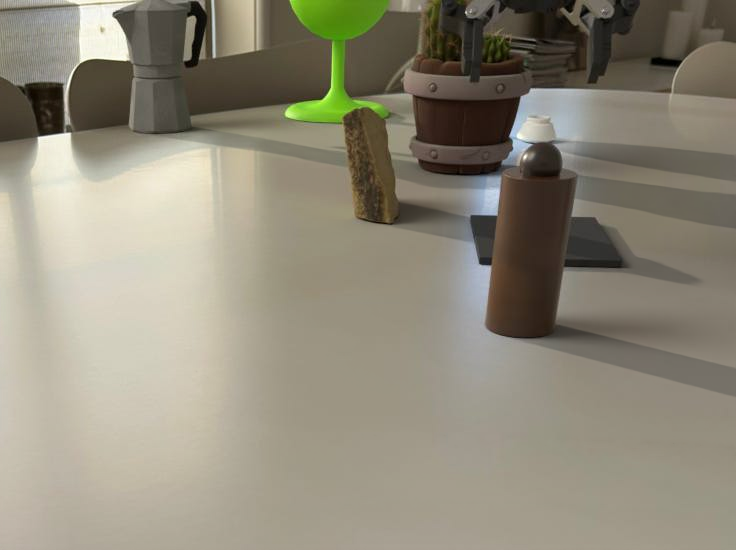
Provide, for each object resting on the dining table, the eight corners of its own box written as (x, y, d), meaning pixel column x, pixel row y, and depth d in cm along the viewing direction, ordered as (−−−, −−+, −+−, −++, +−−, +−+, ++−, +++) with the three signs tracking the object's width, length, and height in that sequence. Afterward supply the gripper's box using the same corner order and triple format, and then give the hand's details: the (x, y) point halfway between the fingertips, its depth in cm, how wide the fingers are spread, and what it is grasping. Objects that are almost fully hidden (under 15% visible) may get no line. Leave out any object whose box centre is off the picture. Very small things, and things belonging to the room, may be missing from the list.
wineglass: (358, 125, 154) (364, -20, 144) (265, 117, 161) (264, -22, 151) (406, 111, 165) (414, -25, 155) (316, 104, 172) (319, -26, 162)
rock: (355, 170, 115) (301, 171, 107) (405, 104, 109) (351, 100, 102) (415, 246, 113) (363, 252, 106) (468, 183, 107) (417, 184, 100)
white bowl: (538, 145, 139) (562, 141, 142) (541, 120, 138) (566, 117, 140) (509, 140, 143) (533, 136, 145) (511, 116, 141) (536, 112, 144)
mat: (594, 223, 104) (595, 217, 103) (621, 267, 90) (622, 260, 90) (469, 221, 105) (470, 214, 104) (478, 264, 92) (479, 257, 91)
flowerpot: (488, 152, 135) (507, -33, 124) (542, 175, 123) (570, -28, 112) (380, 158, 133) (390, -30, 121) (425, 182, 120) (441, -25, 109)
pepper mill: (550, 317, 79) (577, 136, 72) (558, 339, 75) (587, 149, 68) (482, 315, 80) (503, 135, 73) (486, 336, 76) (508, 148, 69)
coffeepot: (139, 137, 147) (130, -15, 137) (104, 129, 153) (92, -17, 143) (228, 125, 155) (225, -19, 145) (191, 118, 161) (185, -21, 151)
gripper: (451, -156, 78) (440, 37, 75) (651, -160, 76) (648, 37, 73) (442, -70, 85) (432, 109, 82) (625, -71, 84) (621, 111, 81)
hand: (534, 75), depth 78 cm, fingers open, 8 cm apart
